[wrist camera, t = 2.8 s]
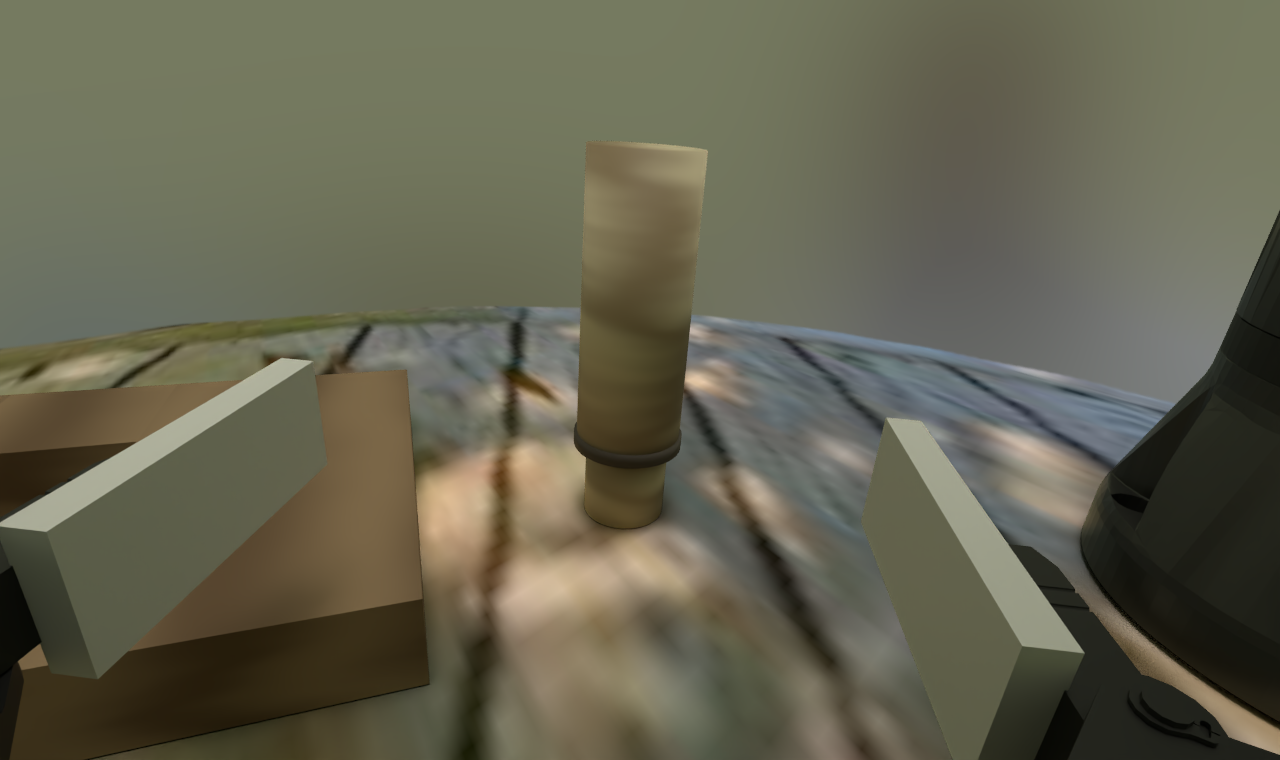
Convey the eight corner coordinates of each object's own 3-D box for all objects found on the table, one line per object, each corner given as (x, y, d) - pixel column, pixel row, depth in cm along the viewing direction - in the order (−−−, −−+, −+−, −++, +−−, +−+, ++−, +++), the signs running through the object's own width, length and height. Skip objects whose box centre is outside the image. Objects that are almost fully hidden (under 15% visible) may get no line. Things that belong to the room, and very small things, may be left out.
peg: (652, 473, 29) (680, 144, 24) (689, 527, 26) (733, 154, 20) (561, 485, 28) (569, 138, 22) (587, 544, 24) (604, 148, 19)
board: (411, 426, 32) (406, 369, 31) (429, 683, 18) (422, 598, 17) (-281, 489, 24) (-323, 416, 23) (-1202, 1041, 10) (-1430, 927, 9)
